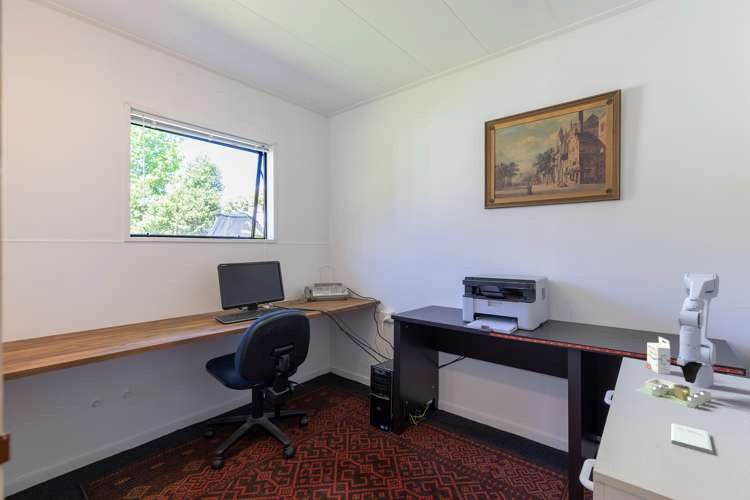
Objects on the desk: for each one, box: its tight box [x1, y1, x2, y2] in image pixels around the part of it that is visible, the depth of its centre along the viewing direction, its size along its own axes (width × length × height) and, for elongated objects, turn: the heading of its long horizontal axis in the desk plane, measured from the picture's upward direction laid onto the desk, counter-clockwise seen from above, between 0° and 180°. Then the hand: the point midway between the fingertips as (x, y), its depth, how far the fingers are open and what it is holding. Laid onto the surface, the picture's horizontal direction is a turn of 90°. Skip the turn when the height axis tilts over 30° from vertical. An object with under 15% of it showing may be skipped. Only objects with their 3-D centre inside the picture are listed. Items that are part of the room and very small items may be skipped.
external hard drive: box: [670, 423, 714, 455], centre depth 98 cm, size 2×8×12 cm
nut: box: [673, 383, 691, 400], centre depth 123 cm, size 4×5×4 cm
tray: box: [644, 377, 677, 394], centre depth 132 cm, size 8×8×2 cm
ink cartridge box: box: [646, 336, 671, 375], centre depth 151 cm, size 9×5×15 cm, turn 168°
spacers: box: [652, 384, 712, 410], centre depth 123 cm, size 12×13×3 cm
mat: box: [634, 385, 719, 411], centre depth 126 cm, size 17×18×1 cm
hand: (689, 382), depth 126 cm, fingers closed
